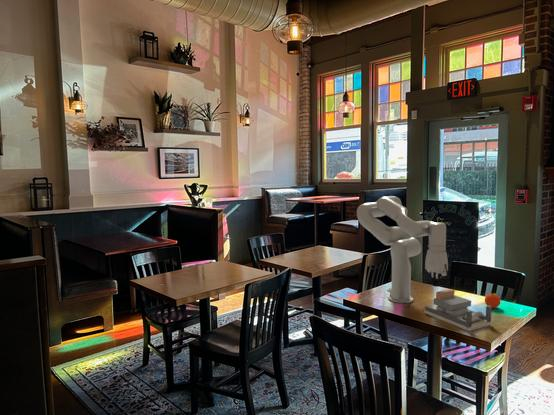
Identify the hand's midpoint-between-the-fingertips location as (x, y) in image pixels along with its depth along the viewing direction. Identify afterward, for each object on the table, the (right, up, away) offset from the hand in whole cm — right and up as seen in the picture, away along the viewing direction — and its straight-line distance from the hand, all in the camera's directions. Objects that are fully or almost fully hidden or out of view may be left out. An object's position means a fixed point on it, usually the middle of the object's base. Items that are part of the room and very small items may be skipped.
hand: (436, 285), depth 198 cm
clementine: (+30, -12, +6) cm, 33 cm away
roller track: (+5, -13, -9) cm, 17 cm away
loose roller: (+9, -13, -17) cm, 23 cm away
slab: (+4, -7, -8) cm, 11 cm away
